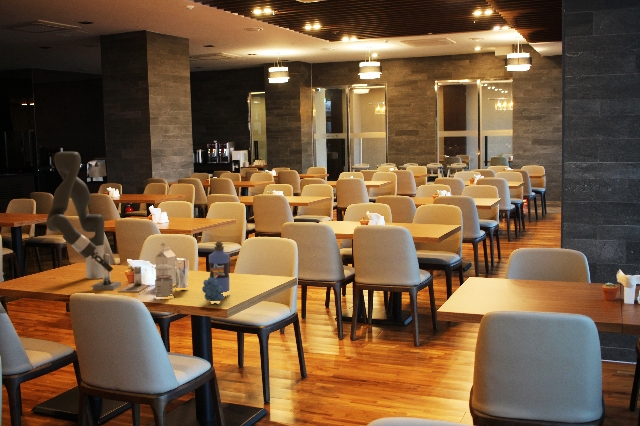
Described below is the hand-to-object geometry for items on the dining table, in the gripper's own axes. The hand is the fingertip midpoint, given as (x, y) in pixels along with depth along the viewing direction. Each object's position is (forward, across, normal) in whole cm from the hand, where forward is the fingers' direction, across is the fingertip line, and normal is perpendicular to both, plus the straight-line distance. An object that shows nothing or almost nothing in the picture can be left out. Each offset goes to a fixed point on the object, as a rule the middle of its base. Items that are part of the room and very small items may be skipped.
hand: (110, 269), depth 341 cm
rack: (+14, -8, 0) cm, 16 cm away
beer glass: (+28, -16, -14) cm, 36 cm away
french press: (+20, -28, -6) cm, 35 cm away
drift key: (+3, +9, +11) cm, 15 cm away
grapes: (+30, -54, -17) cm, 65 cm away
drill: (+3, 0, +6) cm, 7 cm away
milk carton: (+25, -4, -11) cm, 28 cm away
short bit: (+14, -4, -3) cm, 15 cm away
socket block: (+5, 0, +8) cm, 10 cm away
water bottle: (+37, -37, -23) cm, 57 cm away
